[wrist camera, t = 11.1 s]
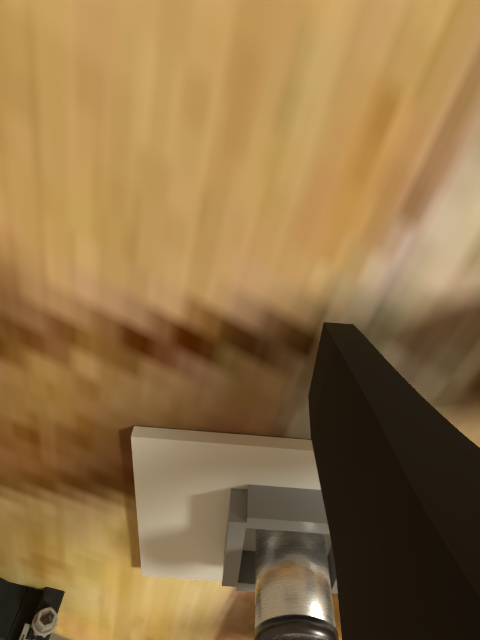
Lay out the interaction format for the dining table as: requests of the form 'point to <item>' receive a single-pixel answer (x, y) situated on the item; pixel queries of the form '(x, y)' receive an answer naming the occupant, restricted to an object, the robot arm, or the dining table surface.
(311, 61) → the dining table surface
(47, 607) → the black camera
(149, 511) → the mount plate
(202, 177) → the dining table surface
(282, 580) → the lens
